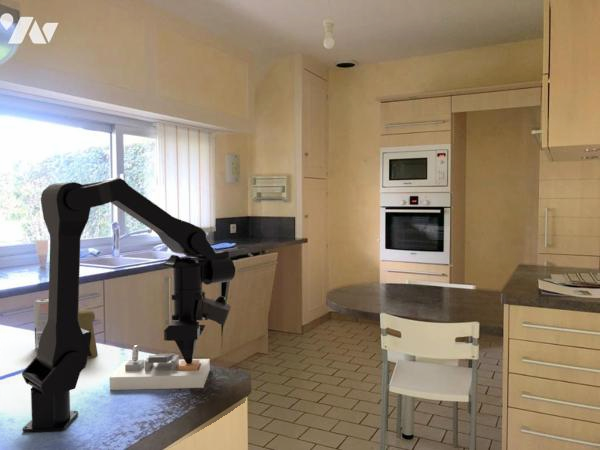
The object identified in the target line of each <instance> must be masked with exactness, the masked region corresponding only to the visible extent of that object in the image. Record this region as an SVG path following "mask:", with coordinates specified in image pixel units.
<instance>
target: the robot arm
mask: <svg viewBox="0 0 600 450" xmlns="http://www.w3.org/2000/svg"><path fill="white" fill-rule="evenodd" d="M109 203H111V204H112V205H114V206H115V207H117V208H119V209H120V210H122V211H123V212H124V213H126V214H127V215H129V216H131V217H132V218H133V219H135V220H136V221H138V222H140V223H141V224H142V225H144V226H146V227H147V228H149V229H150V230H151V231H153V232H154V233H156V234H157V235H158V237H159V238H160V240H161V242H162V243H163V244H164V245H165V246H166V247H167V248H168V249H169V250H171V252H172V253H174V254H170V256H169V258H168V259H167V260H166V261H165V262H163V267H165V268H169V269H170V268H172V269H173V270H172V271H173V272H172V273H173V293H172V294H171V300H172V301H173V313H172V315H171V320H172V321H171V322H170V323H169V324H168V325H167V326H166V328H165V329H164V330H163V340H164V341H166V342H167V341H169V342H170V341H171V342H172V341H173V342H175V344H176V345H177V348H178V349H179V352H180V353H181V355H182V358H183V359H184V360H185V362H186V363H187V364H190V363H192V360H193V359H194V355H195V351H196V345H197V340H199V337H200V336H202V333H203V331H204V329H205V328H206V325H205V324H200V321H203V318H204V321H208V320H210V321H213V322H216V323H217V324H219V325H225V324H226V322H227V320H228V316H229V314H230V311H231V308H232V306H231V305H230V304H228V303H227V297H226V296H222V295H218V297H216V298H215V299H213V298H208V297H206V291H204V289H203V284H204V285H206V286H207V285H214V284H220V283H227V282H231V281H232V280H233V279H234V277H235V275H236V267H235V264H234V263H235V262H234V261H233V259H232V258H231V257H230V256H229V255H230V252H229V251H227V250H219V251H215V249H214V248H213V247H212V246H211V243H210V242H209V241H208V239H207V233H206V232H205V230H204V229H203V228H201V227H199V226H197V225H195V224H193V223H191V222H189V221H186V220H182V219H179V218H177V217H174V216H173V215H171V214H169V213H168V212H167V211H166V210H164V209H163V208H162V207H160V206H158V204H156V203H154V202H153V201H152V200H150V199H149V198H147V197H146V196H144V195H143V194H141V193H140V192H139V191H137V190H136V189H134V188H133V187H132V186H130V185H129V184H128V182H126V181H125V180H124V179H123V178H117V177H116V178H114V177H113V178H106V179H104V180H102V181H95V182H90V183H84V184H82V183H80V182H75V181H71V182H70V181H69V182H56V183H52V184H50V185H48V186H47V187H46V188H44V190H43V191H42V193H41V196H40V204H41V210H42V216H43V217H42V218H43V220H44V223H45V226H46V229H47V231H48V234H49V265H48V266H49V270H48V273H49V275H48V277H49V278H48V298H49V304H48V321H47V324H46V326H45V328H44V330H43V332H42V335H41V337H40V342H39V346H38V349H37V352H36V356H35V357H34V358H33V360H32V361H31V362H30V363H29V364H28V365H27V366H26V368H25V369H24V370H23V371H22V373H21V376H22V378H23V380H24V382H25V384H27V385H29V386H31V388H30V404H31V406H30V407H31V408H30V409H31V410H30V411H31V420H29V422H27V423H26V424H25V425H24V426H23V427H22V432H24V433H25V432H26V433H27V432H55V431H56V432H58V431H64V430H65V429H66V428H67V427H68V426H69V425H70V424H71V423H72V421H74V419H76V418H77V416H78V415H79V411H78V410H71V396H70V395H71V391H72V390H74V389H76V387H77V384H78V381H79V378H80V374H81V372H82V371H83V370H84V369H85V368H86V366H87V364H88V360H89V359H88V356H92V354H91V352H90V341H91V332H90V331H87V330H84V329H82V328H81V327H80V325H79V321H78V310H80V309H79V307H80V306H79V301H80V266H81V265H80V264H81V263H80V262H81V239H82V235H83V234H84V233H83V232H84V230H85V228H86V226H87V223H88V221H89V219H90V213H91V209H92V208H95V207H100V206H104V205H106V204H109ZM176 254H179V255H184V256H185V257H180V256H179V255H176ZM194 258H196V259H197V260H195V259H194Z"/></svg>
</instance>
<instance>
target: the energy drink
mask: <svg viewBox="0 0 600 450" xmlns="http://www.w3.org/2000/svg"><path fill="white" fill-rule="evenodd" d="M48 304H49V297H46V298H45V297H44V298H38V299H37V298H36V299H35V300H34V302H33V320H34V347H35V349H36V350H38V346H39V342H40V337H41V335H42V332H43V330H44V328H45V326H46V324H47V321H48Z"/></svg>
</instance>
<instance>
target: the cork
mask: <svg viewBox="0 0 600 450" xmlns="http://www.w3.org/2000/svg"><path fill="white" fill-rule="evenodd" d="M95 314H96V313H95V312H94V310H92V309H87V308H83V309H78V321H79V325H80V327H81V328H82V329H84V330H87V331H90V332H91V341H90V352H91V354H92V356H88V359H87V360H90V359H94V358H96V357H98V355H99V354H98V348H97V342H96V336H95V330H94V329H95V328H94V324H93V323H94V322H95V319H96V315H95Z"/></svg>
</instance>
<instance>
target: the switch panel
mask: <svg viewBox="0 0 600 450" xmlns="http://www.w3.org/2000/svg"><path fill="white" fill-rule="evenodd" d="M154 355H155V354H154ZM154 355H153V354H150V355H148V357H147V358H146V359H145V360H144V359H138V360H137V361H133V360H132V359H130V360H124V361H123V362H122V363H121V364H120V365H119V367H117V369H115V370H114V372H113V373H112V374H111V375H110V376H109V391H118V390H119V391H120V390H121V391H122V390H124V391H125V390H128V391H129V390H159V389H161V390H162V389H164V390H165V389H169V390H170V389H204V387H205V384H206V381H207V379H208V376H209V374H210V371H211V370H210V366H211V365H210V364H211V363H210V362H211V361H210V360H211V359H210V358H193V360H199V365H200V368H199V370H196V371H179V365H180V363H181V361H182V360H184V358H183V359H182V358H181V359H180V357H179V356H180V355H179V354H175V355H174V357H173V359H172V360H171V361H169V362H167V363H148V358H149V357H151V356H154Z"/></svg>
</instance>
